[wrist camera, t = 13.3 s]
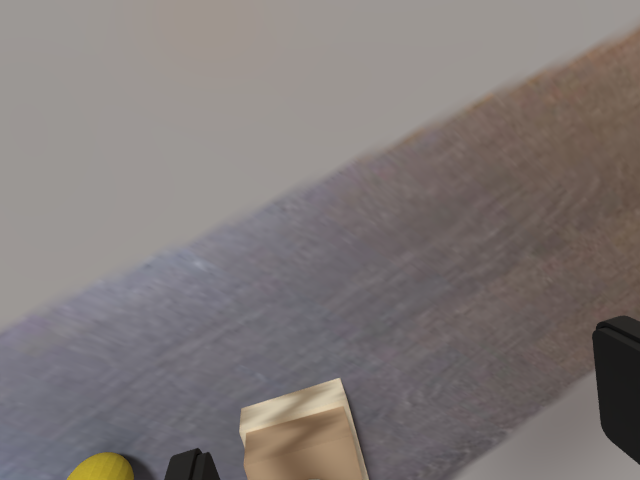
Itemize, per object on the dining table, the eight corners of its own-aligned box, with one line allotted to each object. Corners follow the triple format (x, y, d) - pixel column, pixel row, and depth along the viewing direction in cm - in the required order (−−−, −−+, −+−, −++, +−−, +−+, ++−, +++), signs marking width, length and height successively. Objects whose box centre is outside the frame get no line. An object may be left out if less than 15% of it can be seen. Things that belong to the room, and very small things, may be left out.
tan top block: (343, 405, 37) (352, 435, 33) (361, 486, 39) (372, 522, 35) (245, 432, 37) (243, 466, 33) (270, 513, 39) (270, 553, 35)
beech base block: (338, 375, 41) (346, 398, 37) (361, 456, 43) (370, 486, 40) (241, 405, 40) (239, 431, 36) (269, 486, 43) (270, 520, 39)
